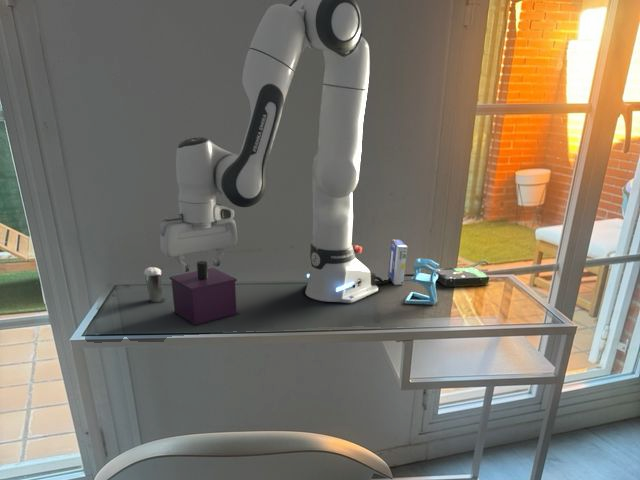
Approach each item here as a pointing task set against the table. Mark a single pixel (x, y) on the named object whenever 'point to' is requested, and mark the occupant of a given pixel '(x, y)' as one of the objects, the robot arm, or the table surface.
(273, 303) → the table surface
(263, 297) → the table surface
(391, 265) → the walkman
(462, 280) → the disk drive
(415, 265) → the chair
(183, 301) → the box
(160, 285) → the milkshake
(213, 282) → the lid
